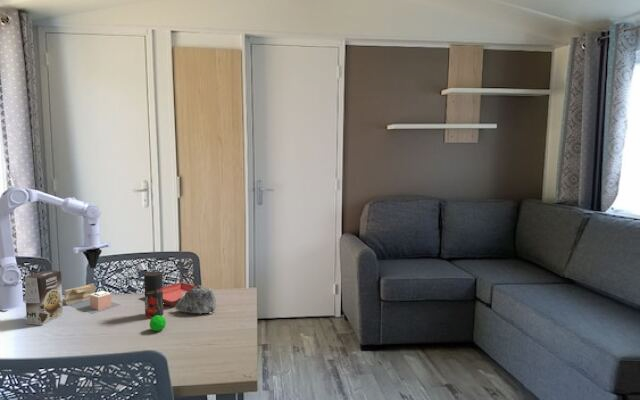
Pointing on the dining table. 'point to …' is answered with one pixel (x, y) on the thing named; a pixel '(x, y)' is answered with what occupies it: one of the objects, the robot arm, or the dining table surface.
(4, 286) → the robot arm
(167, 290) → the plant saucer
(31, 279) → the brown food box
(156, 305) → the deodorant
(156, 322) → the polyhedron
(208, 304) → the mineral rock
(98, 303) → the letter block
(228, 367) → the dining table surface
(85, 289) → the wooden stand
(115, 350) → the dining table surface
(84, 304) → the slate mat
